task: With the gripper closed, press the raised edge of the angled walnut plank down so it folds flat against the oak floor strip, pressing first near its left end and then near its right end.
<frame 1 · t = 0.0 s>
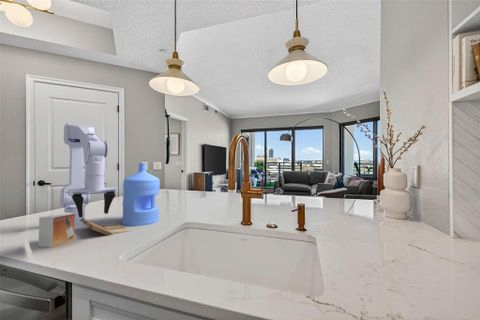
hand: (93, 214, 80), 10 cm above the worktop, tool pointing down, fingers open, 7 cm apart
oak floor strip: (116, 230, 95), on the worktop
water jug: (141, 224, 106), on the worktop
walnut plank: (96, 227, 90), point 3 cm above the worktop, hinge at 32.0°
small box: (56, 247, 77), on the worktop
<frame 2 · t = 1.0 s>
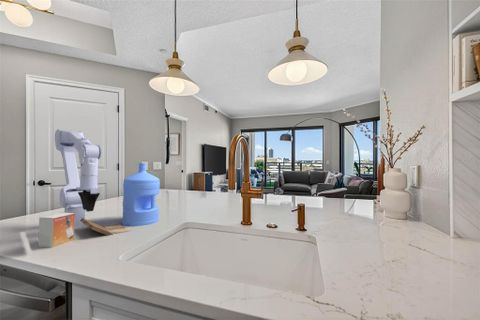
hand: (88, 210, 90), 9 cm above the worktop, tool pointing down, fingers open, 4 cm apart
nothing on the worktop moved.
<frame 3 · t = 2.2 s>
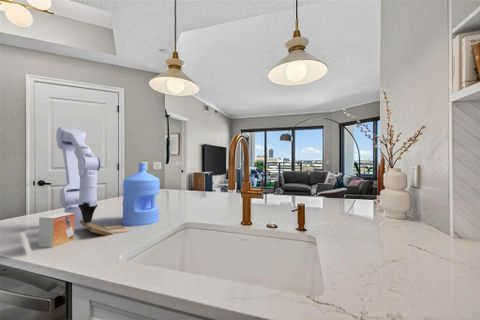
hand: (87, 222, 90), 5 cm above the worktop, tool pointing down, fingers closed, pressing on walnut plank
walnut plank: (96, 228, 90), point 3 cm above the worktop, hinge at 26.8°, touching gripper
everything else where it was.
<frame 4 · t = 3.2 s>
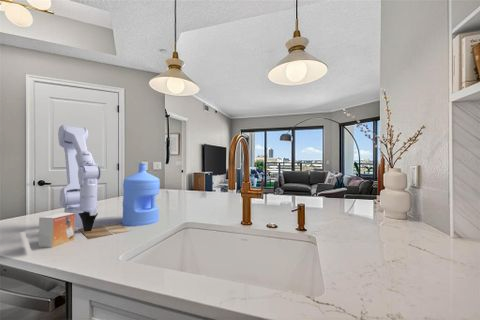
hand: (87, 231, 90), 1 cm above the worktop, tool pointing down, fingers closed, pressing on walnut plank
walnut plank: (95, 233, 89), point 1 cm above the worktop, hinge at 1.5°, touching gripper
everything else where it was.
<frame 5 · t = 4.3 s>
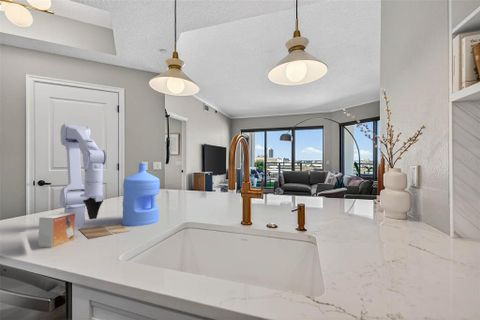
hand: (92, 218, 85), 7 cm above the worktop, tool pointing down, fingers closed
walnut plank: (95, 233, 89), point 1 cm above the worktop, hinge at 1.4°
everything else where it was.
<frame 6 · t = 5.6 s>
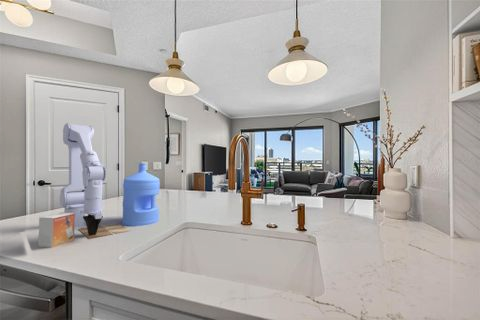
hand: (92, 234, 85), 1 cm above the worktop, tool pointing down, fingers closed, pressing on walnut plank
walnut plank: (95, 233, 89), point 1 cm above the worktop, hinge at 1.4°, touching gripper
everything else where it was.
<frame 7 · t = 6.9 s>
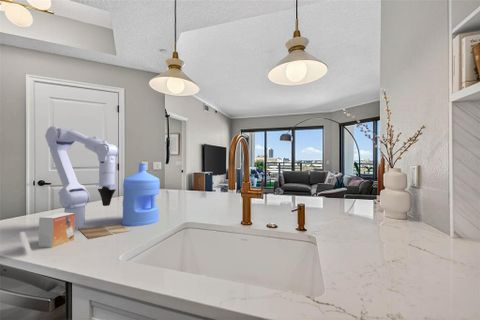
hand: (106, 205, 95), 10 cm above the worktop, tool pointing down, fingers closed
walnut plank: (95, 233, 89), point 1 cm above the worktop, hinge at 1.4°
everything else where it was.
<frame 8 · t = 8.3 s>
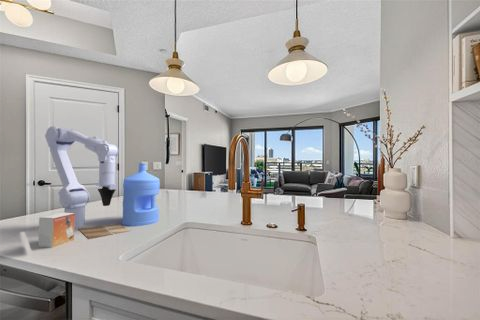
hand: (106, 205, 95), 10 cm above the worktop, tool pointing down, fingers closed
nothing on the worktop moved.
at the end: walnut plank at +1° (first picture: +32°) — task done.
